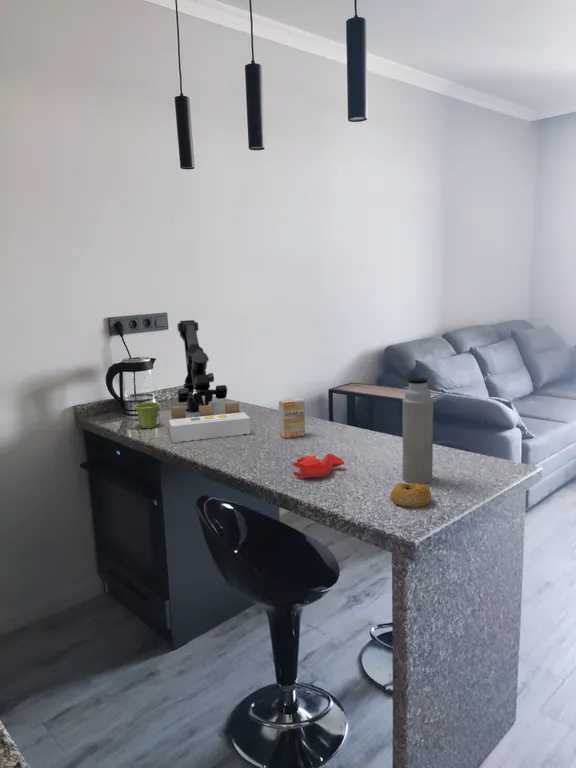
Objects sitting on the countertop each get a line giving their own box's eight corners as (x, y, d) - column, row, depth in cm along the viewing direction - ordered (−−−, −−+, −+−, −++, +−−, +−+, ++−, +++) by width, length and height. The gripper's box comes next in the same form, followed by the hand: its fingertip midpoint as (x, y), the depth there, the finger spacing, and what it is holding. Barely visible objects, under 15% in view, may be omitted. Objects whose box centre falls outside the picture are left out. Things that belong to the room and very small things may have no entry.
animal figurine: (350, 471, 167) (350, 454, 166) (313, 484, 157) (313, 466, 156) (322, 462, 176) (322, 446, 175) (285, 474, 166) (285, 457, 165)
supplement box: (283, 439, 201) (282, 402, 199) (279, 435, 206) (278, 399, 203) (305, 436, 204) (304, 400, 201) (301, 432, 208) (300, 397, 206)
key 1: (172, 427, 217) (170, 407, 216) (185, 426, 218) (184, 405, 217) (173, 429, 215) (171, 408, 213) (186, 427, 216) (185, 407, 215)
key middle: (200, 426, 217) (198, 406, 215) (213, 425, 218) (211, 404, 217) (200, 428, 215) (199, 407, 213) (214, 426, 216) (212, 406, 214)
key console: (168, 430, 218) (166, 413, 217) (240, 422, 226) (239, 406, 225) (172, 442, 201) (171, 424, 200) (250, 434, 209) (249, 416, 208)
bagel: (431, 493, 148) (431, 476, 147) (431, 511, 137) (431, 492, 136) (391, 492, 150) (391, 474, 149) (389, 509, 140) (388, 490, 139)
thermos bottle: (431, 474, 161) (432, 375, 156) (433, 484, 153) (434, 381, 148) (402, 473, 162) (402, 376, 157) (402, 483, 155) (402, 381, 150)
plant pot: (165, 426, 224) (163, 405, 222) (141, 431, 219) (139, 408, 217) (156, 422, 232) (154, 401, 230) (133, 426, 226) (131, 404, 225)
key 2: (225, 423, 220) (224, 403, 219) (238, 422, 221) (237, 401, 220) (227, 425, 218) (226, 404, 216) (240, 423, 219) (239, 403, 218)
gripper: (175, 368, 216) (181, 402, 208) (225, 364, 221) (232, 397, 213) (175, 385, 225) (180, 418, 217) (222, 381, 230) (229, 413, 222)
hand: (205, 412), depth 217 cm, fingers closed, pressing on key middle
